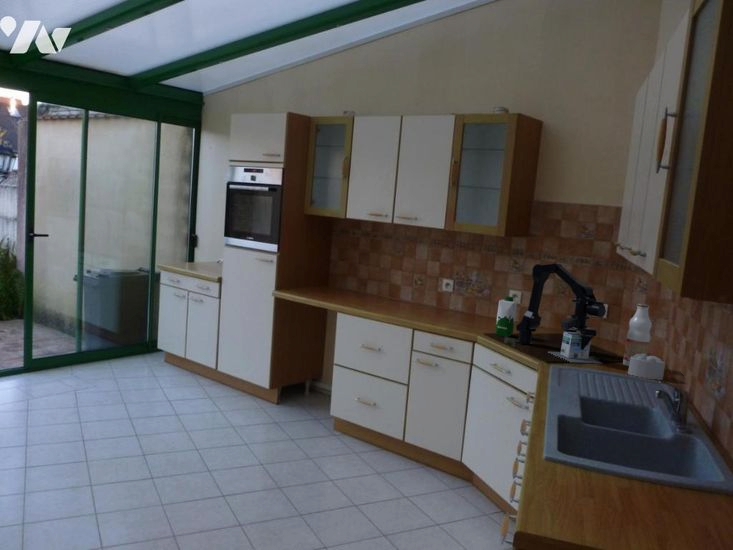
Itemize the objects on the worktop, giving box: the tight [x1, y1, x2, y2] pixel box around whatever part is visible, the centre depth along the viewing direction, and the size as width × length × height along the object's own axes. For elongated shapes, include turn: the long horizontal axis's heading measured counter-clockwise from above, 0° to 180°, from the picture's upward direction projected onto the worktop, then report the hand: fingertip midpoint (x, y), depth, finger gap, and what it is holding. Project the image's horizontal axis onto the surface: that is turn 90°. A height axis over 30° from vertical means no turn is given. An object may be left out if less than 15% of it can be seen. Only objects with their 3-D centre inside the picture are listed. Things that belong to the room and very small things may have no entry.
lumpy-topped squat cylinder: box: [627, 354, 666, 381], centre depth 255 cm, size 10×13×9 cm
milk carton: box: [495, 295, 518, 338], centre depth 316 cm, size 9×9×20 cm
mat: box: [547, 351, 603, 365], centre depth 276 cm, size 18×16×1 cm
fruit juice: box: [622, 303, 653, 367], centre depth 272 cm, size 9×9×28 cm
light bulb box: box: [560, 331, 592, 359], centre depth 276 cm, size 11×7×11 cm, turn 105°
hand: (575, 347), depth 276 cm, fingers open, 9 cm apart
